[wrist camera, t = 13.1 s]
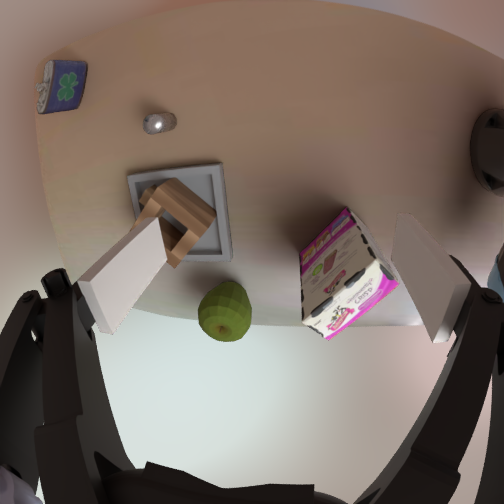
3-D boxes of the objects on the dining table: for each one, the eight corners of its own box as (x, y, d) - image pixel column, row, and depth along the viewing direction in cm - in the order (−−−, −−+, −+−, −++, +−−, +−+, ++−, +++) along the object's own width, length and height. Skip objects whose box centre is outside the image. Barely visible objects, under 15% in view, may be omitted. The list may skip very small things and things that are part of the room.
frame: (165, 168, 40) (147, 178, 35) (218, 213, 43) (208, 228, 37) (138, 209, 44) (120, 223, 39) (187, 250, 47) (174, 268, 41)
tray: (222, 162, 39) (219, 165, 38) (233, 255, 47) (230, 261, 45) (133, 173, 42) (127, 176, 40) (151, 255, 49) (146, 260, 47)
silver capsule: (175, 111, 36) (159, 112, 32) (177, 129, 38) (162, 132, 33) (159, 114, 37) (141, 116, 32) (161, 132, 38) (144, 135, 33)
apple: (203, 272, 49) (182, 314, 39) (248, 264, 47) (236, 307, 37) (220, 310, 53) (204, 354, 43) (262, 304, 51) (254, 350, 41)
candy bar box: (320, 271, 46) (328, 343, 31) (298, 253, 45) (298, 323, 31) (368, 225, 41) (402, 285, 26) (347, 204, 40) (375, 258, 26)
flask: (80, 61, 33) (37, 59, 23) (91, 61, 33) (48, 58, 23) (70, 109, 37) (27, 116, 28) (80, 110, 37) (37, 117, 28)
